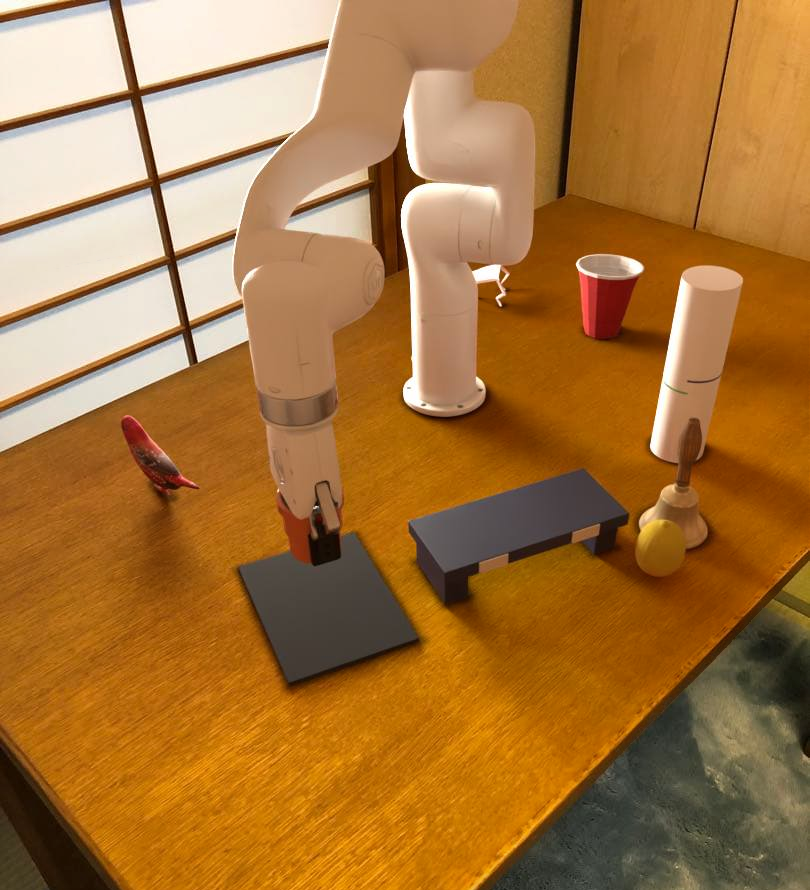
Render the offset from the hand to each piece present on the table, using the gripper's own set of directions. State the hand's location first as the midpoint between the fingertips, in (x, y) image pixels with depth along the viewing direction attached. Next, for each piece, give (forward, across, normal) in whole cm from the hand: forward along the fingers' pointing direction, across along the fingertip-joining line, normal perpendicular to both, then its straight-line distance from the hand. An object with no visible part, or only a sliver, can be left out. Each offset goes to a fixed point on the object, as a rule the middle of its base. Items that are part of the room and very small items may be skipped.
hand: (315, 540), depth 94 cm
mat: (+10, 0, 0) cm, 10 cm away
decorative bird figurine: (+10, -28, -12) cm, 32 cm away
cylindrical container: (+10, -8, +55) cm, 57 cm away
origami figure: (+9, -62, +54) cm, 83 cm away
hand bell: (+10, +6, +44) cm, 46 cm away
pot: (+1, 0, 0) cm, 1 cm away
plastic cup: (+9, -42, +65) cm, 78 cm away
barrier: (+10, +2, +24) cm, 26 cm away
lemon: (+10, +12, +37) cm, 40 cm away
